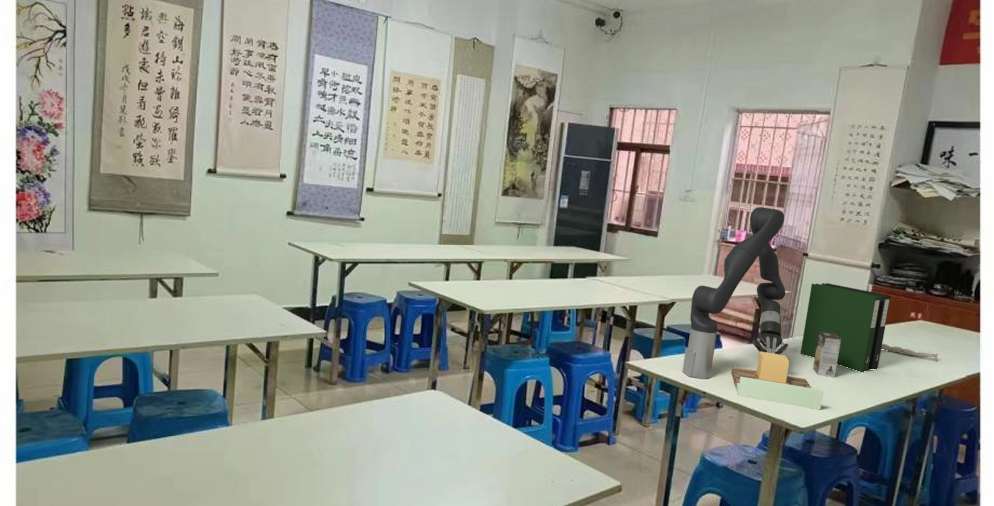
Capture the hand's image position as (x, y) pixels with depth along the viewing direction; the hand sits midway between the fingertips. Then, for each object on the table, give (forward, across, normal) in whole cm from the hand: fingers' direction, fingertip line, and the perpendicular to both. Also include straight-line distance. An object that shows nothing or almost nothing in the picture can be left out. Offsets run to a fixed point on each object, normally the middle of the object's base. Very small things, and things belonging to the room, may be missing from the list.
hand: (770, 364), depth 248 cm
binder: (-31, +36, +41) cm, 62 cm away
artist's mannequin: (-57, +71, +68) cm, 114 cm away
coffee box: (-13, +24, +22) cm, 35 cm away
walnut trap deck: (+14, 0, -5) cm, 14 cm away
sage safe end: (+20, 0, -12) cm, 24 cm away
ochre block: (+6, 0, -1) cm, 6 cm away
